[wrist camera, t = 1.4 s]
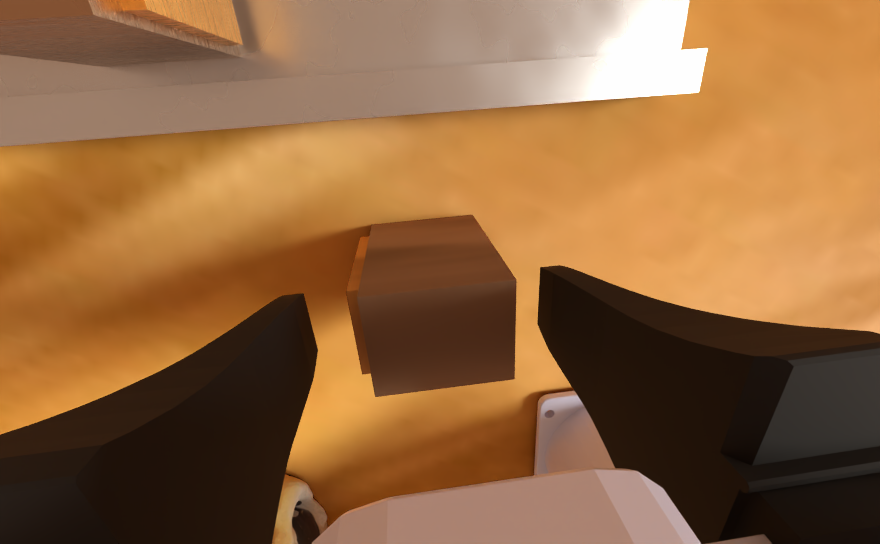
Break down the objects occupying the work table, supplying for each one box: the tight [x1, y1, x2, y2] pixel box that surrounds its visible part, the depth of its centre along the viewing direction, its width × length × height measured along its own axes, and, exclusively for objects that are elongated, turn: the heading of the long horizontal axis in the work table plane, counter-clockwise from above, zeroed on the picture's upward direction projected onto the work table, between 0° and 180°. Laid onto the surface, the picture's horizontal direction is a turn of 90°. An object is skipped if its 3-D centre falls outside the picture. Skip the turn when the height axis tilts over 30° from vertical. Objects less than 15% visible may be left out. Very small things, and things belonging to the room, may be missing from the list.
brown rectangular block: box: [346, 215, 516, 397], centre depth 13 cm, size 3×4×6 cm
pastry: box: [272, 474, 328, 544], centre depth 19 cm, size 9×7×4 cm
